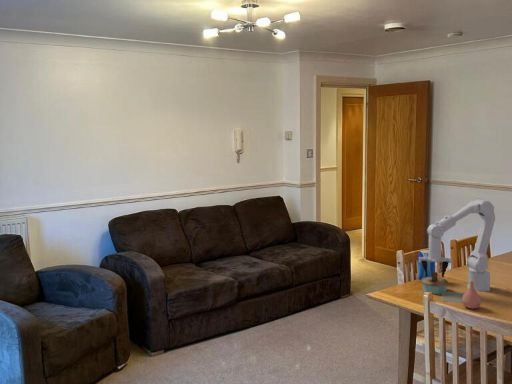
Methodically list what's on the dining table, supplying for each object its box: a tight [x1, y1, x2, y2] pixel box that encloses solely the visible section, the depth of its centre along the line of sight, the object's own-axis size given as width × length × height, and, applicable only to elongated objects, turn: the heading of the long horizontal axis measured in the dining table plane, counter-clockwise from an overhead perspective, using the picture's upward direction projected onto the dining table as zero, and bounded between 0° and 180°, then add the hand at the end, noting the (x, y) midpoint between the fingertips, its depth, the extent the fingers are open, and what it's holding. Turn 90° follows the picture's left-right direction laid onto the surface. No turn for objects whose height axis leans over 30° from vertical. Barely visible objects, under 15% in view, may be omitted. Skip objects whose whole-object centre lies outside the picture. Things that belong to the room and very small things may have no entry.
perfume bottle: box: [461, 282, 482, 309], centre depth 219 cm, size 8×8×12 cm
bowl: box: [421, 282, 448, 295], centre depth 244 cm, size 11×11×4 cm
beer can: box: [417, 249, 436, 283], centre depth 258 cm, size 8×8×16 cm
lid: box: [421, 271, 449, 286], centre depth 243 cm, size 12×12×5 cm
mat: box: [441, 291, 466, 303], centre depth 234 cm, size 14×14×1 cm
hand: (434, 276), depth 243 cm, fingers open, 7 cm apart
